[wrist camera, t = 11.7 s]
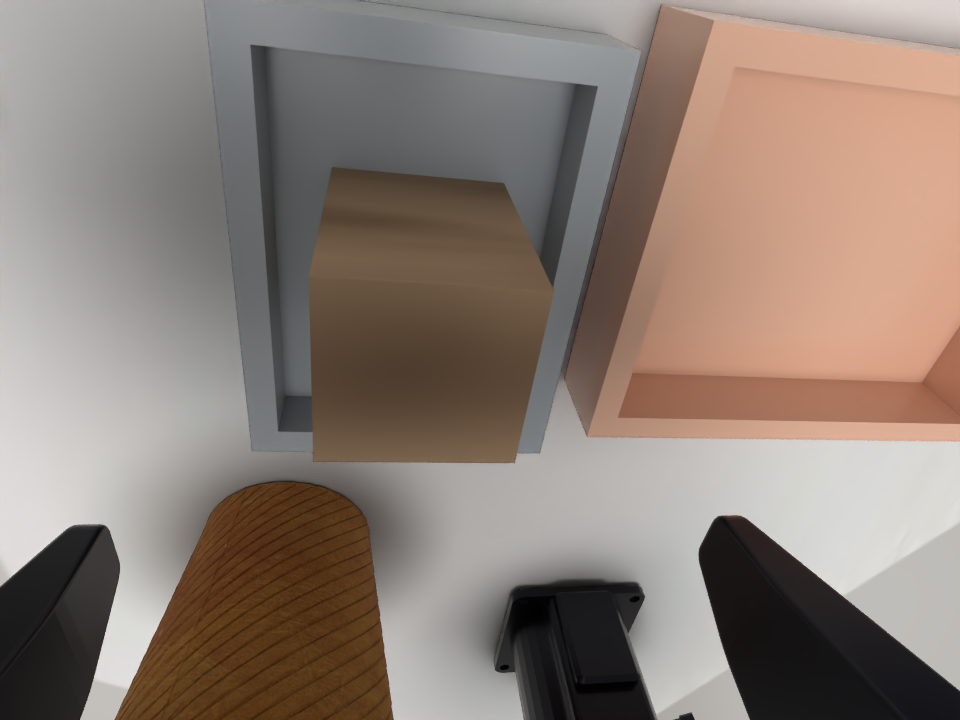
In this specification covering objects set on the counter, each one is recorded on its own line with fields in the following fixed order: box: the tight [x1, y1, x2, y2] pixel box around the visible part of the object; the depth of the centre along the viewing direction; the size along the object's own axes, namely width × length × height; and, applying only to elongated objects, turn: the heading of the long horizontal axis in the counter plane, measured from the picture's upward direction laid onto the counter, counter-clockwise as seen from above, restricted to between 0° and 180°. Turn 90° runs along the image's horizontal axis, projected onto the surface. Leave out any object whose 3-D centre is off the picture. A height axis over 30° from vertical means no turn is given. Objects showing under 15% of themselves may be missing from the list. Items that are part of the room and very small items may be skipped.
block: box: [309, 167, 554, 463], centre depth 15 cm, size 4×4×6 cm
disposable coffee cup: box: [115, 482, 394, 720], centre depth 20 cm, size 10×10×12 cm
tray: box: [204, 0, 641, 453], centre depth 17 cm, size 12×9×2 cm
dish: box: [564, 5, 960, 441], centre depth 19 cm, size 12×15×3 cm
